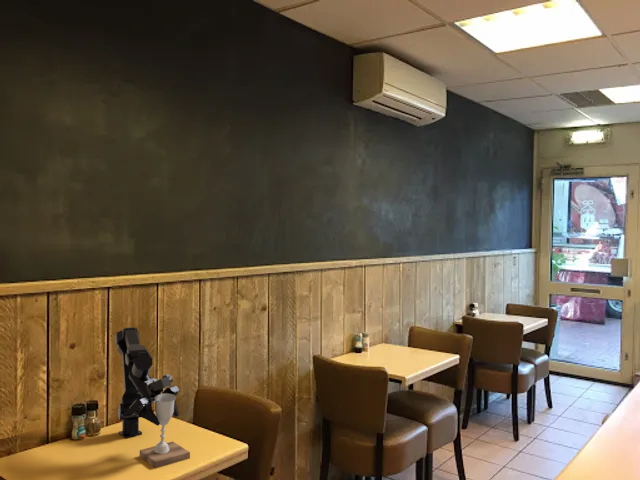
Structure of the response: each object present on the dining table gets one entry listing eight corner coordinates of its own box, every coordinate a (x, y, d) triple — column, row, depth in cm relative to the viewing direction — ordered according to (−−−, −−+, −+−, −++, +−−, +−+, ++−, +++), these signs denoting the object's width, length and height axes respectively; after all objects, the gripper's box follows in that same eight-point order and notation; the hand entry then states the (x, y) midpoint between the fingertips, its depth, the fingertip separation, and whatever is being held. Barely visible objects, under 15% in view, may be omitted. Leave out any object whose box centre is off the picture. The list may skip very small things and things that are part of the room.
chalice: (166, 456, 178) (170, 403, 177) (146, 453, 179) (150, 399, 178) (176, 446, 185) (179, 395, 184) (157, 443, 187) (161, 392, 185)
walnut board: (139, 456, 182) (139, 450, 182) (172, 447, 191) (172, 441, 191) (155, 468, 174) (156, 461, 174) (189, 458, 182) (190, 452, 182)
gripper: (136, 374, 175) (162, 414, 170) (175, 362, 192) (200, 398, 187) (117, 395, 178) (143, 435, 174) (157, 381, 195) (181, 417, 191)
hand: (168, 420), depth 181 cm, fingers open, 9 cm apart
